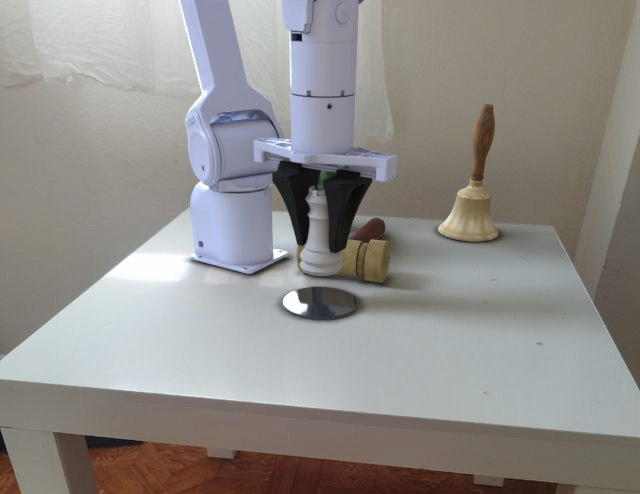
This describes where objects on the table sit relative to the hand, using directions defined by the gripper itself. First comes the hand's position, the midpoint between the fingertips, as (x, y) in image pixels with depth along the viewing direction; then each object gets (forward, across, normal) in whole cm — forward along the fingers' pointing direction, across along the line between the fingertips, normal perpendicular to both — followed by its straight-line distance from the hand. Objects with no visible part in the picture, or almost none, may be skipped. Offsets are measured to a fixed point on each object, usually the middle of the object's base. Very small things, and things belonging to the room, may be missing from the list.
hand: (321, 246), depth 62 cm
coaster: (+6, 0, 0) cm, 6 cm away
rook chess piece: (+3, 0, 0) cm, 3 cm away
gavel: (+6, -4, +16) cm, 18 cm away
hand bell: (+6, +4, +32) cm, 33 cm away
